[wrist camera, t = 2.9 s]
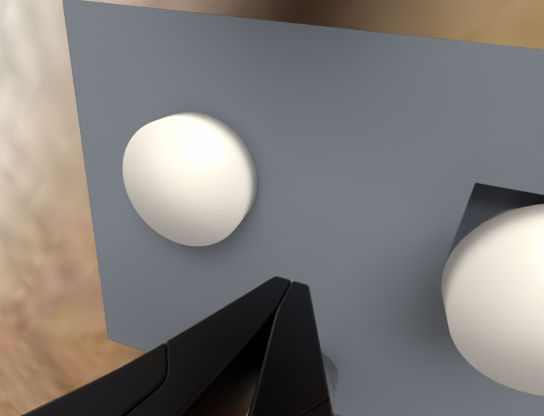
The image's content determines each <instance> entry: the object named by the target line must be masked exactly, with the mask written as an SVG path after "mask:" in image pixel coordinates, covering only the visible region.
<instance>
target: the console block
mask: <svg viewBox="0 0 544 416" xmlns="http://www.w3.org/2000/svg"><path fill="white" fill-rule="evenodd" d="M62 1H63V8H64V16H65V23H66V30H67V38H68V45H69V52H70V60H71V67H72V74H73V82H74V89H75V97H76V104H77V111H78V119H79V126H80V133H81V141H82V148H83V156H84V163H85V170H86V178H87V185H88V192H89V200H90V207H91V215H92V222H93V229H94V237H95V244H96V251H97V259H98V266H99V273H100V281H101V288H102V296H103V303H104V310H105V318H106V325H107V332H108V339H109V340H112V341H115V342H118V343H121V344H124V345H127V346H130V347H133V348H136V349H139V350H142V351H145V352H149V351H151V350H152V349H154V348H156V347H157V346H159V345H161V344H162V343H166V342H167V341H168V340H169V339H171V338H173V337H174V336H176V335H178V334H179V333H181V332H183V331H184V330H186V329H188V328H189V327H191V326H193V325H194V324H196V323H198V322H199V321H201V320H203V319H204V318H206V317H207V316H209V315H211V314H212V313H214V312H216V311H217V310H219V309H221V308H222V307H224V306H226V305H227V304H229V303H231V302H232V301H234V300H236V299H237V298H239V297H241V296H242V295H244V294H246V293H247V292H249V291H251V290H252V289H254V288H256V287H257V286H259V285H261V284H262V283H264V282H266V281H267V280H269V279H271V278H272V277H274V276H279V277H282V278H286V279H289V280H290V281H291V283H292V282H293V281H296V282H300V283H303V284H307V285H308V286H309V288H310V293H311V299H312V304H313V309H314V314H315V320H316V325H317V330H318V336H319V341H320V346H321V351H322V353H323V354H325V355H326V356H327V357H328V358H330V359H331V360H332V362H333V363H334V364H335V366H336V368H337V371H338V381H337V388H336V395H335V401H334V408H333V413H334V414H337V415H340V416H544V396H541V395H534V394H530V393H526V392H522V391H519V390H516V389H513V388H510V387H507V386H505V385H502V384H500V383H498V382H496V381H494V380H492V379H490V378H488V377H487V376H485V375H484V374H482V373H481V372H479V371H478V370H477V369H475V368H474V367H473V366H472V365H471V364H470V363H469V362H468V361H467V360H466V359H465V358H464V357H463V356H462V355H461V353H460V352H459V350H458V349H457V347H456V346H455V344H454V342H453V339H452V337H451V335H450V331H449V326H448V322H447V317H446V312H445V307H444V302H443V298H442V290H441V281H442V274H443V270H444V267H445V264H446V262H447V260H448V258H449V256H450V254H451V253H452V251H453V250H454V248H455V247H456V246H457V245H458V244H459V242H460V241H461V240H462V239H463V238H464V237H465V236H466V235H468V234H469V233H470V232H471V231H472V230H474V229H475V228H477V227H478V226H479V225H480V224H481V223H482V222H483V221H484V220H485V219H486V218H488V217H489V216H491V215H492V214H494V213H496V212H499V211H502V210H506V209H513V208H522V207H527V206H532V205H538V204H544V50H541V49H532V48H522V47H513V46H504V45H494V44H485V43H475V42H466V41H457V40H447V39H438V38H429V37H419V36H410V35H400V34H391V33H382V32H372V31H363V30H354V29H344V28H335V27H325V26H316V25H307V24H297V23H288V22H279V21H269V20H260V19H250V18H241V17H232V16H222V15H213V14H204V13H194V12H185V11H175V10H166V9H157V8H147V7H138V6H128V5H119V4H110V3H100V2H91V1H82V0H62ZM181 112H200V113H204V114H208V115H210V116H213V117H215V118H217V119H219V120H221V121H223V122H224V123H225V124H227V125H228V126H230V127H231V128H232V129H233V130H234V131H235V132H236V133H237V134H238V135H239V136H240V137H241V139H242V140H243V141H244V143H245V144H246V146H247V147H248V149H249V151H250V153H251V155H252V157H253V160H254V163H255V167H256V171H257V179H258V183H257V193H256V197H255V201H254V203H253V205H252V207H251V209H250V211H249V212H248V214H247V215H246V216H245V217H244V219H243V220H242V221H241V222H240V224H239V225H238V226H237V227H236V228H235V230H234V231H233V232H232V233H231V234H230V235H229V236H227V237H226V238H225V239H223V240H221V241H219V242H217V243H214V244H212V245H207V246H188V245H183V244H179V243H176V242H174V241H171V240H169V239H167V238H165V237H164V236H162V235H160V234H159V233H157V232H156V231H155V230H153V229H152V228H151V227H150V226H149V225H148V224H147V223H146V222H145V221H144V220H143V219H142V218H141V216H140V215H139V214H138V213H137V211H136V210H135V208H134V206H133V205H132V203H131V201H130V199H129V197H128V194H127V191H126V188H125V184H124V179H123V158H124V154H125V150H126V148H127V145H128V143H129V141H130V140H131V138H132V137H133V136H134V134H135V133H136V132H137V131H138V130H139V129H141V128H142V127H143V126H145V125H147V124H148V123H151V122H153V121H156V120H159V119H162V118H164V117H167V116H170V115H173V114H176V113H181Z"/></svg>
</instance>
